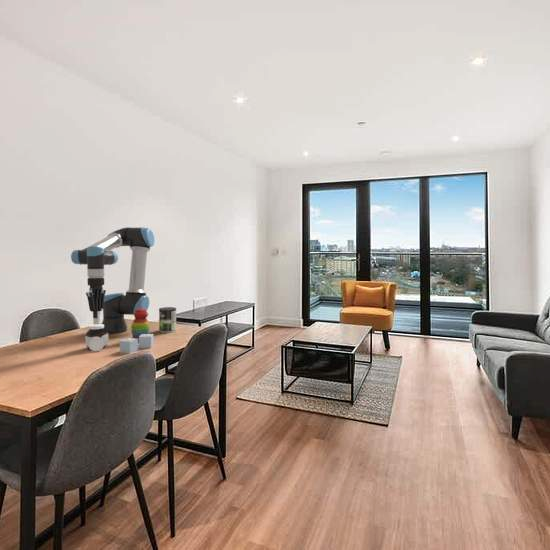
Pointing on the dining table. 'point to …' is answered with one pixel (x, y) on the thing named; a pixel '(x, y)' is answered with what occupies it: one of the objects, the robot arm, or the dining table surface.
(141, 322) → the stacking bear
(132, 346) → the pip block three
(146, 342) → the pip block two
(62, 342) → the dining table surface
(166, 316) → the coffee can
